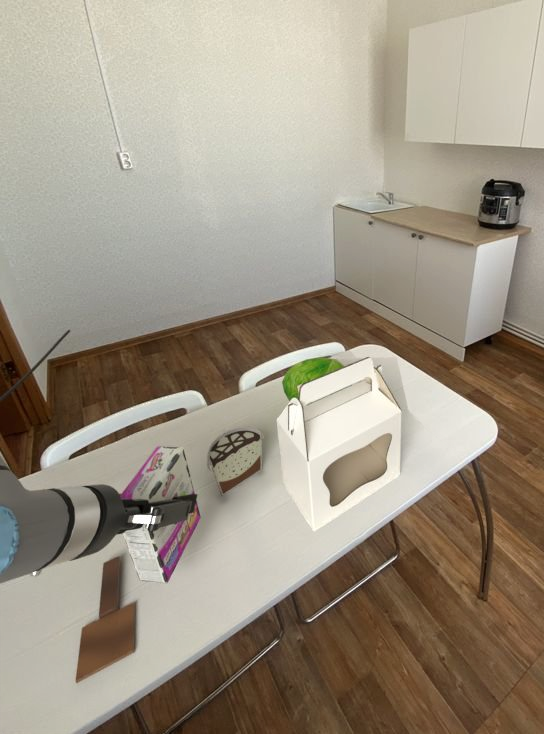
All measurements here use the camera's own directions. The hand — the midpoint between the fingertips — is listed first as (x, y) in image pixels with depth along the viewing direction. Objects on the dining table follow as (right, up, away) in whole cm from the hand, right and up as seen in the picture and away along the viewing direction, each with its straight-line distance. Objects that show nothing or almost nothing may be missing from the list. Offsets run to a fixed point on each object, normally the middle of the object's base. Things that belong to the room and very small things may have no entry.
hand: (177, 501), depth 65 cm
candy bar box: (0, -7, -1) cm, 7 cm away
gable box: (+27, -6, +18) cm, 33 cm away
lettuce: (+20, +2, +41) cm, 45 cm away
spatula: (-9, -14, -4) cm, 17 cm away
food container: (+4, -6, +20) cm, 21 cm away
